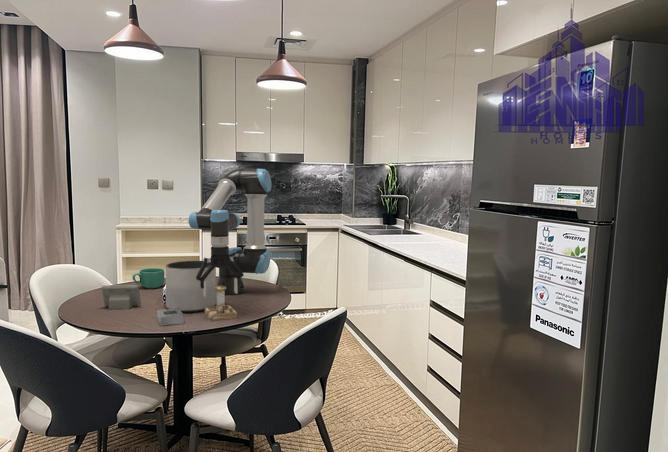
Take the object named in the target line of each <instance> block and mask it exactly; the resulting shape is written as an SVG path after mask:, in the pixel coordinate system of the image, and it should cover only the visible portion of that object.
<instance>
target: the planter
mask: <svg viewBox="0 0 668 452" xmlns="http://www.w3.org/2000/svg"><path fill="white" fill-rule="evenodd" d="M202 264H203V260H182V261H181V260H180V261H174V262H170V263H168V264H165V306H166V309H174V308H179V309H180V310H181V312H182V313H197V312H205V307H214V306H216V290H214V287H215V286H217V267H215V268H214V269H213V270H212V271H211V272H210V274H209V275H208V276H207V277H206V279H205V281H206V296H203V289H201V287H200V280H197V279H196V276H197V274H198V272H199V270H200V268H201V266H202ZM211 264H212V263H211V261H209V262H208V263H207V265H206V267H205V269H204V271H203V273H202V276H203V274H204V273H205V272H206V271H207V269H208V268H209V267H210V265H211ZM202 276H201V277H202Z"/></svg>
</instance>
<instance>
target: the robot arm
mask: <svg viewBox="0 0 668 452" xmlns="http://www.w3.org/2000/svg"><path fill="white" fill-rule="evenodd" d="M272 186H273V185H272V177H271V175H270V172H269V171H268V170H267V169H265V168H236V169H233V170H231V171H229V172H227V173H226V174H225V175H223V176H222V177H221V178H220V180H219V181H218V183H217V187H216V188H215V189H214V191H213V192H212V193H211V194H210V197H209V198H208V199H207V200H206V202H205V203H204V204H203V206H202V207H201V208H200V210H199V211H198V212H197V211H194V212H191V213H190V214H189V217H188V225H189V228H191V229H193V230H194V229H198V230H210V246H211V247H210V258H209V257H203V259H202V261H203V264H202V266H201V268H200V270H199V272H198V274H197V276H196V279H197V280H200V287H201V289H203V296H206V281H205V279H206V277H207V276H208V275H209V274H210V272H211V271H212V270H213V269H214V268H215V267H216V269H217V268H218V280H217V282H216V286H226V289H225V296H226V295H230V296H233V295H239V294H244V293H245V291H246V287H245V286H246V285H245V284H244V280H243V277H244V276H245V275H244V274H256V275H257V274H259V275H260V274H265V273H267V271H268V270H269V267H270V265H271V252H270V251H268V250H267V248H268V247H267V246H266V245H265V240H264V239H265V198H267V196H268V193H269V192H271V190H272ZM236 192H244V195H245V197H246V198H247V207H246V208H247V209H246V210H247V213H246V215H247V217H246V218H247V219H246V220H247V221H246V222H247V223H246V227H247V228H246V229H247V230H246V234H247V235H246V237H247V238H246V245H245V246H244V247H243V249H242V247H239V246H235V247H229V244H230V241H229V237H230V236H229V231H231V230H235V229H237V228H238V227H239V226H240V224H241V218H240V216H239V215H238V214H237V213H235V212H229V210H226V209H222V208H223V207H224V206H225V204H226V202H227V201H228V200H229V198H230V196H233V195H234V194H235V193H236ZM209 261H210V262H211V263H212V264H211V265H210V267H209V268H208V269H207V271H206V272H205V273H204V274H203V276H202V273H203V271H204V269H205V267H206V265H207V263H208V262H209ZM201 276H202V277H201Z"/></svg>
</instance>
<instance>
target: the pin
mask: <svg viewBox="0 0 668 452" xmlns="http://www.w3.org/2000/svg"><path fill="white" fill-rule="evenodd" d="M225 289H226V286H217V285H216V286H215V287H214V290H216V305H215V306H216V314H223V313H225V305H226V302H225V301H226V299H225V297H226V295H225Z"/></svg>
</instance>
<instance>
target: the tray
mask: <svg viewBox="0 0 668 452" xmlns="http://www.w3.org/2000/svg"><path fill="white" fill-rule="evenodd" d="M204 314H205V315H206V316H207V318H208V319H209V320H210V321H211V322H215V321H220V320H221V321H222V320H231V319H238V312H237V311H236V310H235V309H234V308H233V307H232V306H231V305H230V304H227V305H226V304H225V313H223V314H216V305H215V306H214V307H205V310H204Z"/></svg>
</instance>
